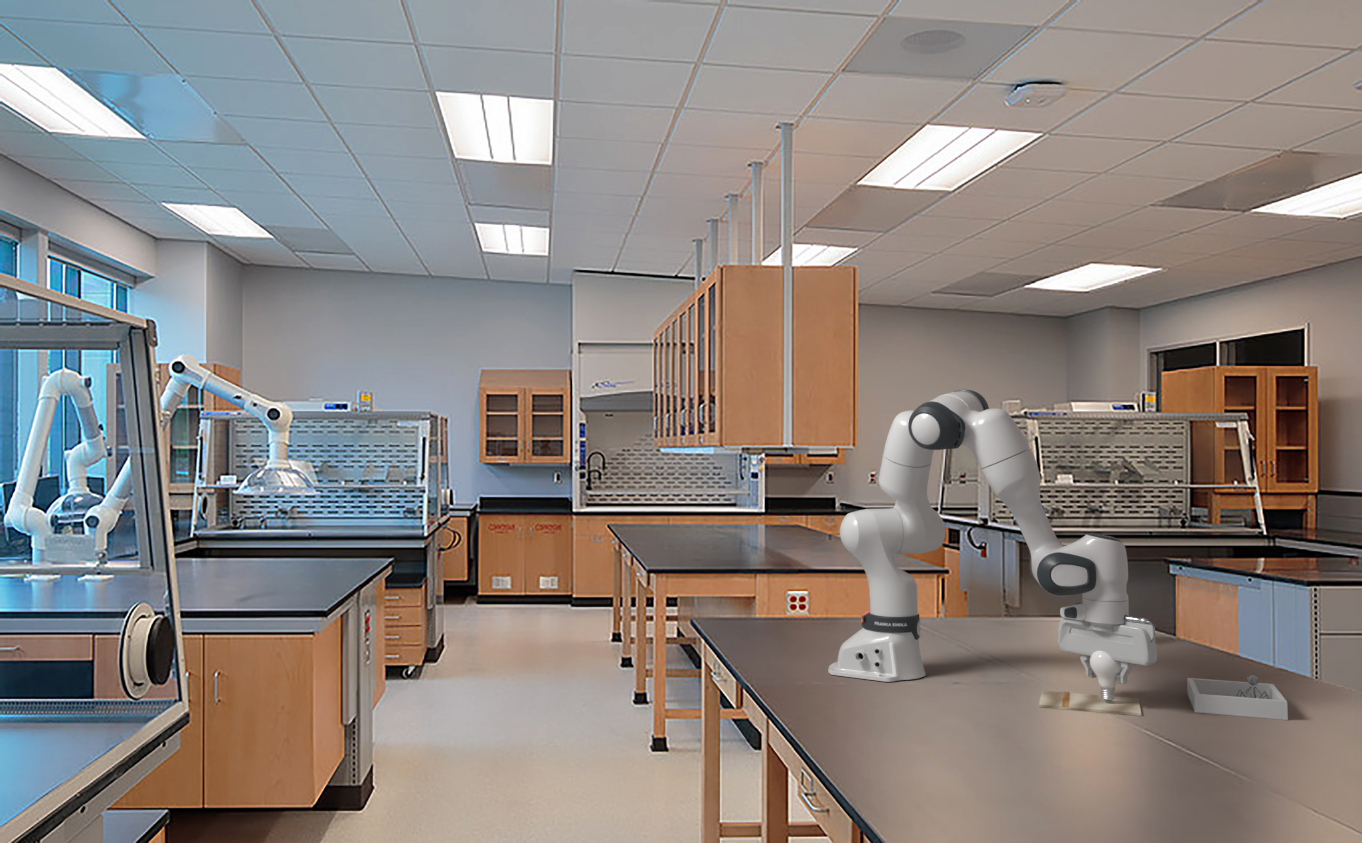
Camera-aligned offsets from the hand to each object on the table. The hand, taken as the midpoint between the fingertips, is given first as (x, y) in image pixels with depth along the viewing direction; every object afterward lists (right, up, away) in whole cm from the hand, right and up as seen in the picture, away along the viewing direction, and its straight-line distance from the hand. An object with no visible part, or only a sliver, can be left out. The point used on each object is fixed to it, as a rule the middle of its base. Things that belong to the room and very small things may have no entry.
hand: (1106, 680), depth 203 cm
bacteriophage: (+29, -5, -2) cm, 30 cm away
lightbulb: (0, -4, 0) cm, 4 cm away
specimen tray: (+25, -5, -2) cm, 26 cm away
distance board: (-3, -5, +1) cm, 6 cm away
